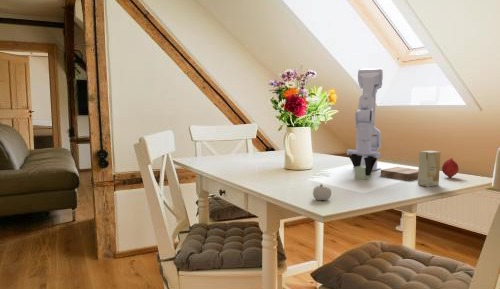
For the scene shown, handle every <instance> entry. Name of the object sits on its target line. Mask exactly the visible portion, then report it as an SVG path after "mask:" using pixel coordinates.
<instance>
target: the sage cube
mask: <svg viewBox="0 0 500 289" xmlns="http://www.w3.org/2000/svg"><path fill="white" fill-rule="evenodd" d="M353 178H354V179H359V180H363V179H365V180H369V179H370V180H371V179H372V174H371V175H369V176H366V166H356V167H355V170H354V177H353Z"/></svg>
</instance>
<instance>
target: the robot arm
mask: <svg viewBox="0 0 500 289" xmlns="http://www.w3.org/2000/svg"><path fill="white" fill-rule="evenodd" d="M383 71H384V70H383V68H381V67H379V68H359V69H358V71H357V82H358V84H359V85H358V86H359V88H360V89H362V95H360V96H359V98H358V105H357V106H358V107H357V110H355V114H354V121H355V128H356V131H355V132H356V133H355V149H350V148H349V149H346V155H349V159H350V161H351V162H352V165H353V166H352V167H353V169H354V171H355V167H356V166H366V176H369V175H371V176H372V172H373V171H377V170H378V171H379V170H382V168H381V167H378V159H380V158H381V157H382V153H381V152H378V150H379V149H381V148H382V132H381V130H380V129H378V128H377V127H376V126H375V125H376V104H377V92H378V90H379V89H381V88H382V86H383V77H384V74H383V73H384V72H383Z"/></svg>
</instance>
